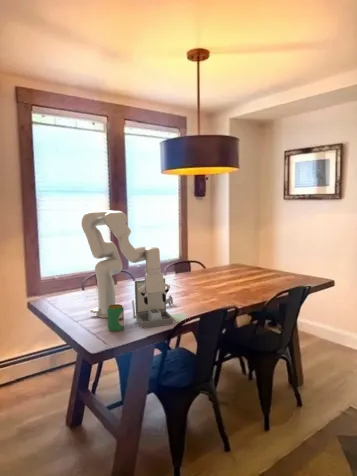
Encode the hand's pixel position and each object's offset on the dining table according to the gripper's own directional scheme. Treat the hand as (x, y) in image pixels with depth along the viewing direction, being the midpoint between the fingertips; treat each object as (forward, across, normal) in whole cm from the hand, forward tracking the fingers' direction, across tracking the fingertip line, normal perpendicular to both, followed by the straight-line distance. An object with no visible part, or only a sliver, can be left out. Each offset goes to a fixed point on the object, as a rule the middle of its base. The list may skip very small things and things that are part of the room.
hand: (155, 302), depth 191 cm
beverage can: (+10, -22, -2) cm, 24 cm away
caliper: (+11, +9, +24) cm, 28 cm away
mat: (+11, +14, +2) cm, 18 cm away
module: (+11, -1, +1) cm, 11 cm away
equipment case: (+10, -2, +1) cm, 11 cm away
